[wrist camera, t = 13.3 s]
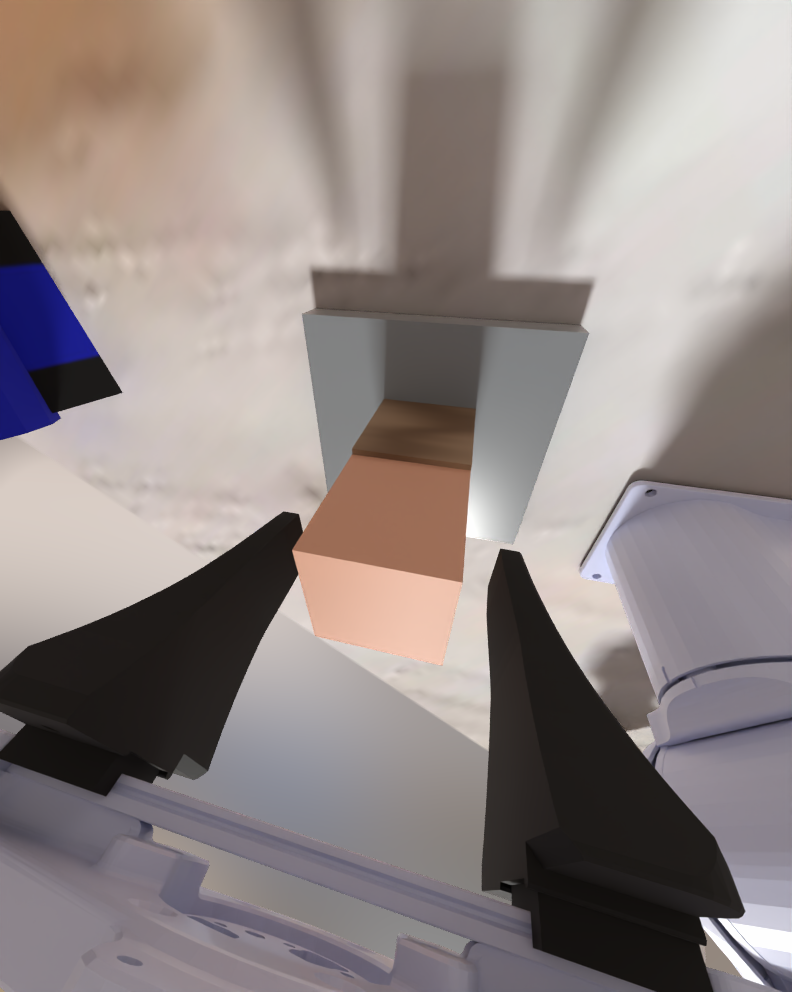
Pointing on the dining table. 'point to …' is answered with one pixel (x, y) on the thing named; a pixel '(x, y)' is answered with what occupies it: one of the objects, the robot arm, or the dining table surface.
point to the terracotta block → (387, 557)
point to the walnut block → (420, 434)
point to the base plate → (448, 393)
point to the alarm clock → (40, 343)
